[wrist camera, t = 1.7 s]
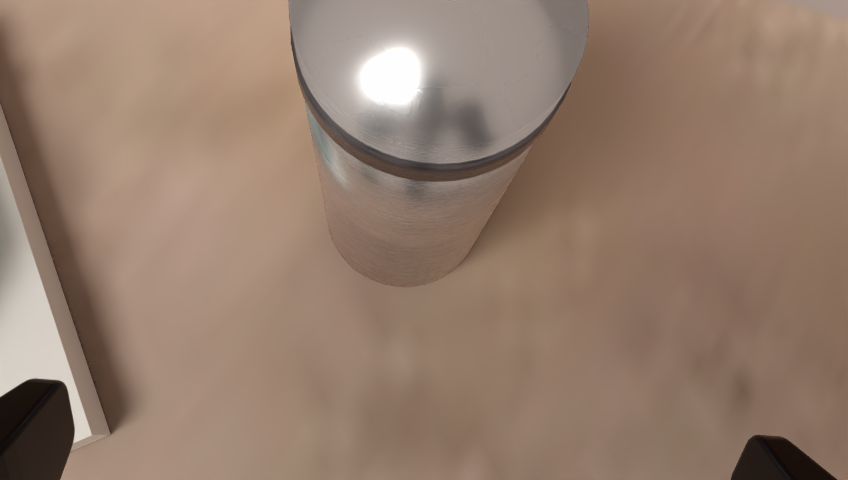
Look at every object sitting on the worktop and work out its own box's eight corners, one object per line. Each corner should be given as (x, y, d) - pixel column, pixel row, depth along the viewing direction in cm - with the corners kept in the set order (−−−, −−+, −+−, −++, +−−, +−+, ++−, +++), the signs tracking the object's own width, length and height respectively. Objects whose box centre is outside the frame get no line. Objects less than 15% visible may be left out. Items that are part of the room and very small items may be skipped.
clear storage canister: (510, 239, 24) (650, 61, 12) (374, 317, 23) (384, 205, 11) (431, 112, 25) (489, -166, 13) (297, 182, 24) (230, -53, 12)
